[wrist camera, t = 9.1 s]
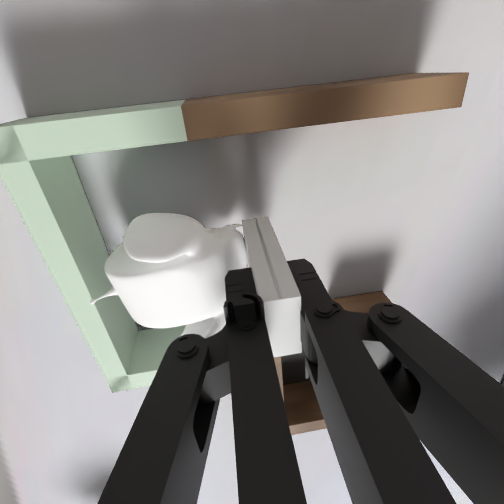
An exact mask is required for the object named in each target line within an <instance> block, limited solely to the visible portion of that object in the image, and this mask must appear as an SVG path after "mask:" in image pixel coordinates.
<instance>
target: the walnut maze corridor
mask: <svg viewBox="0 0 504 504" xmlns="http://www.w3.org/2000/svg"><path fill="white" fill-rule="evenodd" d="M468 75H469V73H412V74H403V75H394V76H386V77H377V78H368V79H360V80H351V81H342V82H334V83H325V84H316V85H307V86H299V87H290V88H281V89H273V90H264V91H255V92H247V93H238V94H229V95H220V96H212V97H203V98H194V99H186V100H185V101H184V102H183V104H182V105H181V110H182V115H183V120H184V125H185V131H186V136H187V141H191V140H199V139H207V138H215V137H223V136H232V135H240V134H248V133H256V132H264V131H272V130H280V129H288V128H296V127H304V126H312V125H320V124H328V123H336V122H344V121H352V120H360V119H368V118H377V117H385V116H393V115H401V114H409V113H417V112H425V111H433V110H441V109H449V108H457V107H461V106H462V101H463V97H464V93H465V88H466V84H467V80H468ZM331 300H334V301H335V302H337V303H339V304H340V305H341V306H342V307H343V309H344V310H347V311H352V312H361V313H369V310H370V308H371V307H372V306H373V305H375V304H378V303H383V302H384V303H392V302H391V301H390V300H389V299H388V298H387V296H386V295H385V294H384V293H383V292H382V291H378V292H372V293H366V294H360V295H354V296H348V297H342V298H336V299H331ZM274 361H275V366H276V370H277V374H278V379H279V383H280V388H281V392H282V396H283V401H284V405H285V410H286V414H287V418H288V423H289V427H290V432H291V435H294V434H299V433H304V432H310V431H315V430H320V429H325V428H327V427H326V424H325V421H324V418H323V415H322V412H321V409H320V406H319V403H318V400H317V397H316V394H315V391H314V388H313V385H312V382H311V379H310V376H309V378H307V379H306V377H305V352H304V349H303V346H302V353H297V354H291V355H286V356H280V357H274Z"/></svg>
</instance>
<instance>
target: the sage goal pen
mask: <svg viewBox="0 0 504 504" xmlns="http://www.w3.org/2000/svg"><path fill="white" fill-rule="evenodd" d="M184 101H185V100H177V101H168V102H160V103H151V104H142V105H133V106H125V107H116V108H107V109H99V110H90V111H81V112H72V113H64V114H55V115H46V116H38V117H29V118H24V119H19V120H15V121H11V122H7V123H3V124H0V177H1V179H2V181H3V183H4V185H5V187H6V189H7V191H8V193H9V195H10V197H11V198H12V200H13V202H14V204H15V206H16V208H17V210H18V212H19V214H20V216H21V218H22V220H23V222H24V223H25V225H26V227H27V229H28V231H29V233H30V235H31V237H32V239H33V241H34V243H35V245H36V247H37V248H38V250H39V252H40V254H41V256H42V258H43V260H44V262H45V264H46V266H47V268H48V270H49V272H50V273H51V275H52V277H53V279H54V281H55V283H56V285H57V287H58V289H59V291H60V293H61V295H62V297H63V298H64V300H65V302H66V304H67V306H68V308H69V310H70V312H71V314H72V316H73V318H74V320H75V322H76V323H77V325H78V327H79V329H80V331H81V333H82V335H83V337H84V339H85V341H86V343H87V345H88V347H89V348H90V350H91V352H92V354H93V356H94V358H95V360H96V362H97V364H98V366H99V368H100V370H101V372H102V373H103V375H104V377H105V379H106V381H107V383H108V385H109V387H110V389H111V391H112V393H113V392H118V391H124V390H130V389H135V388H141V387H147V386H151V383H152V381H153V379H154V377H155V375H156V372H157V370H158V368H159V366H160V363H161V361H162V359H163V357H164V354H165V352H166V350H167V348H168V347H169V345H170V344H171V342H173V341H174V340H175V339H176V338H178V337H180V336H181V334H182V333H183V331H184V329H185V327H186V325H187V324H186V325H182V326H177V327H171V328H153V329H147V330H141V331H138V328H137V326H136V323H135V321H134V319H133V318H132V317H131V315H130V314H129V312H128V311H127V309H126V307H125V306H124V304H123V302H122V301H121V299H120V297H119V296H118V295H112V296H107V297H104V298H101V299H99V300H97V301H96V302H95V303H94V304H90V301H91V300H93V299H94V300H95V299H97V298H98V297H100V296H102V295H104V294H105V293H107V292H108V291H109V290H111V289H112V288H113V285H112V284H111V282H110V280H109V279H108V277H107V275H106V273H105V270H104V265H105V262H106V260H107V258H108V257H109V253H108V251H107V248H106V246H105V243H104V241H103V238H102V235H101V233H100V230H99V228H98V225H97V222H96V220H95V217H94V215H93V212H92V210H91V207H90V204H89V202H88V199H87V197H86V194H85V192H84V189H83V186H82V184H81V181H80V179H79V176H78V173H77V171H76V168H75V166H74V163H73V161H72V158H71V155H79V154H87V153H95V152H103V151H111V150H119V149H127V148H135V147H143V146H151V145H159V144H167V143H175V142H183V141H187V136H186V131H185V125H184V120H183V115H182V110H181V105H182V104H183V102H184ZM225 325H226V324H225Z"/></svg>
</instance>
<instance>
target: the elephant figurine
mask: <svg viewBox="0 0 504 504" xmlns="http://www.w3.org/2000/svg"><path fill="white" fill-rule="evenodd" d="M239 226H243V225H240V224H233V225H227V226H224V227H222V228H212V229H205V228H204V227H203V225H202V224H201V223H200V222H198V221H197V220H195V219H194V218H191V217H189V216H186V215H181V214H175V213H148V214H143V215H140V216H138V217H136V218H134V219H133V220H132V222H131V223H130V224H129V226H128V227H127V229H126V230H125V233H124V236H123V242H122V243H121V244H120V245H119V246H118V247H117V248H116V249H115V250H114V251H113V252H112V253H111V255H110V256H109V257H108V258H107V260H106V262H105V265H104V270H105V273H106V275H107V277H108V279H109V280H110V282H111V284H112V285H113V288H112V289H111V290H109V291H108V292H107V293H105V294H104V295H102V296H100V297H98V298H97V299H95V300H94V299H93V300H91V301H90V304H94V303H95V302H96V301H97V300H99V299H101V298H104V297H107V296H112V295H118V296H119V297H120V299H121V301H122V302H123V304H124V306H125V307H126V309H127V311H128V312H129V314H130V315H131V317H132V318H133V319H134V321H136V322H137V323H138V324H140V325H142V326H144V327H148V328H171V327H177V326H182V325H186V324H187V325H186V327H185V329H184V331H183V333H182V334H181V336H183V335H185V334H198V335H201V336H202V337H204V338H208V337H210V336H212V335H214V334H216V333H218V332H219V331H220V330H222V329H223V327H224V326H225V324H226V320H225V315H224V309H223V306H224V302H225V301H226V291H225V276H226V274H227V273H228V271H229V270H236V269H243V268H246V265H247V252H246V245H245V241H244V238H243V235H242V234H241V233H240V232H239V231H237V230H236V229H235V228H236V227H239Z"/></svg>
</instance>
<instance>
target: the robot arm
mask: <svg viewBox="0 0 504 504" xmlns="http://www.w3.org/2000/svg"><path fill="white" fill-rule="evenodd" d="M242 225H243V233H244V241H245V245H246V252H247V266H248V268H243V269H236V270H229V271H228V273H227V274H226V276H225V291H226V301H225V302H224V306H223V309H224V315H225V320H226V325H225V326H224V327H223V329H222V330H220V331H219V332H218V333H216V334H214V335H212V336H210V337H208V338H204V337H202V336H201V335H198V334H185V335H183V336H180V337H178V338H176V339H175V340H174V341H173V342H171V344H170V345H169V347H168V348H167V350H166V352H165V354H164V357H163V359H162V361H161V363H160V366H159V368H158V370H157V372H156V375H155V377H154V379H153V381H152V383H151V386H150V388H149V390H148V392H147V395H146V397H145V399H144V401H143V403H142V406H141V408H140V410H139V412H138V415H137V417H136V419H135V421H134V424H133V426H132V428H131V430H130V432H129V435H128V437H127V439H126V441H125V444H124V446H123V448H122V450H121V453H120V455H119V457H118V459H117V461H116V464H115V466H114V468H113V470H112V473H111V475H110V477H109V479H108V481H107V484H106V486H105V488H104V490H103V493H102V495H101V497H100V499H99V502H98V504H197V499H198V495H199V490H200V486H201V482H202V477H203V473H204V468H205V464H206V459H207V455H208V450H209V446H210V441H211V437H212V432H213V428H214V424H215V419H216V415H217V410H218V406H219V401H220V398H222V397H224V396H226V395H228V394H230V393H231V396H232V410H233V425H234V439H235V453H236V468H237V482H238V496H239V504H307V502H306V498H305V493H304V489H303V485H302V480H301V476H300V471H299V467H298V463H297V458H296V454H295V449H294V445H293V441H292V436H291V432H290V427H289V423H288V418H287V414H286V410H285V405H284V401H283V396H282V392H281V388H280V383H279V379H278V374H277V370H276V366H275V361H274V357H280V356H286V355H291V354H297V353H302V346H303V349H304V352H305V377H306V379H307V378H309V376H310V379H311V382H312V385H313V388H314V391H315V394H316V397H317V400H318V403H319V406H320V409H321V412H322V415H323V418H324V421H325V424H326V427H327V430H328V432H329V435H330V438H331V441H332V444H333V447H334V450H335V453H336V456H337V459H338V462H339V465H340V468H341V471H342V474H343V477H344V480H345V483H346V486H347V489H348V492H349V495H350V497H351V500H352V503H353V504H456V502H455V500H454V499H453V497H452V495H451V494H450V492H449V490H448V488H447V487H446V485H445V483H444V481H443V480H442V478H441V476H440V475H439V473H438V471H437V469H436V468H435V466H434V464H433V462H432V461H431V459H430V457H429V456H428V454H427V452H426V450H425V449H424V447H423V445H422V443H423V444H424V445H425V447H426V448H427V449H428V450H429V451H430V452H431V454H432V455H433V456H434V457H435V458H436V460H437V461H438V462H439V463H440V464H441V465H442V467H443V468H444V469H445V470H446V471H447V473H448V474H449V475H450V476H451V477H452V479H453V480H454V481H455V482H456V483H457V484H458V486H459V487H460V488H461V489H462V490H463V492H464V493H465V494H466V495H467V496H468V497H469V499H470V500H471V501H472V502H473V503H474V504H504V380H503V382H502V385H501V384H500V383H499V382H497V381H496V380H495V379H494V378H492V377H491V376H490V375H488V374H487V373H486V372H485V371H483V370H482V369H481V368H480V367H478V366H477V365H476V364H475V363H473V362H472V361H471V360H469V359H468V358H467V357H466V356H464V355H463V354H462V353H461V352H459V351H458V350H457V349H456V348H454V347H453V346H452V345H450V344H449V343H448V342H447V341H445V340H444V339H443V338H442V337H440V336H439V335H438V334H437V333H435V332H434V331H433V330H431V329H430V328H429V327H428V326H426V325H425V324H424V323H423V322H421V321H420V320H419V319H417V318H416V317H415V316H414V315H412V314H411V313H410V312H409V311H407V310H406V309H404V308H403V307H401V306H399V305H396V304H393V303H384V302H383V303H378V304H375V305H373V306H372V307H371V308H370V310H369V313H361V312H352V311H347V310H344V309H343V307H342V306H341V305H340V304H339V303H337V302H335V301H334V300H331V298H330V296H329V294H328V293H327V291H326V289H325V287H324V285H323V283H322V281H321V280H320V279H319V276H318V274H317V273H316V270H315V269H314V267H313V265H312V264H311V263H310V262H308V261H307V260H305V259H299V260H292V261H286V259H285V256H284V254H283V251H282V249H281V247H280V244H279V242H278V239H277V237H276V235H275V232H274V230H273V227H272V225H271V223H270V220H269V218H268V217H260V218H253V219H246V220H242ZM419 439H420V440H419ZM420 441H421V442H422V443H421V442H420Z"/></svg>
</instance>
